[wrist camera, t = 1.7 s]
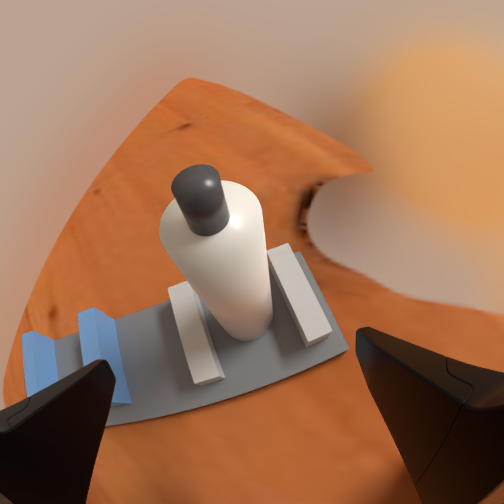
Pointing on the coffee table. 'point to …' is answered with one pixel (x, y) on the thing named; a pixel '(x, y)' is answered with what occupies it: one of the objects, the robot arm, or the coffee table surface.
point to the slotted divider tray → (192, 347)
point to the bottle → (220, 249)
